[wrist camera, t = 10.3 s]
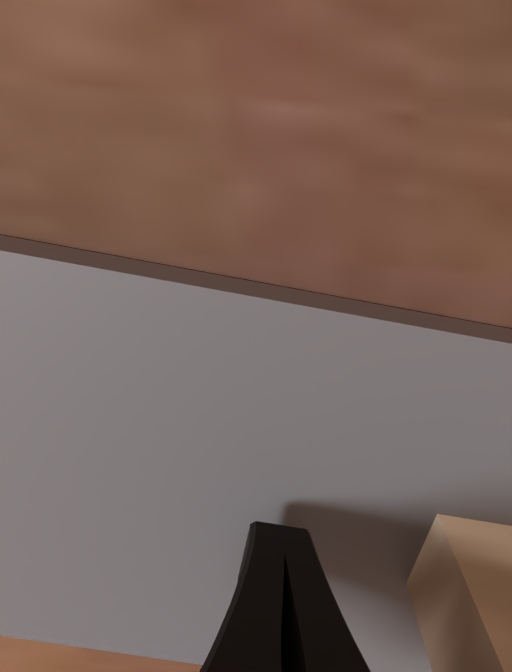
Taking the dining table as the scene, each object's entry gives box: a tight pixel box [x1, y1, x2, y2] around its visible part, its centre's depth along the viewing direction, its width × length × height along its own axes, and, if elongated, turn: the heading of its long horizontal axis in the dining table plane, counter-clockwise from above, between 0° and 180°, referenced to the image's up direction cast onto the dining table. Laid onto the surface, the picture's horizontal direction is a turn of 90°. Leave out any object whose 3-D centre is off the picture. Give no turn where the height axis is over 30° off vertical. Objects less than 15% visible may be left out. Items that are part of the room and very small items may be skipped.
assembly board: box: [0, 235, 512, 672], centre depth 13 cm, size 12×35×1 cm, turn 80°
